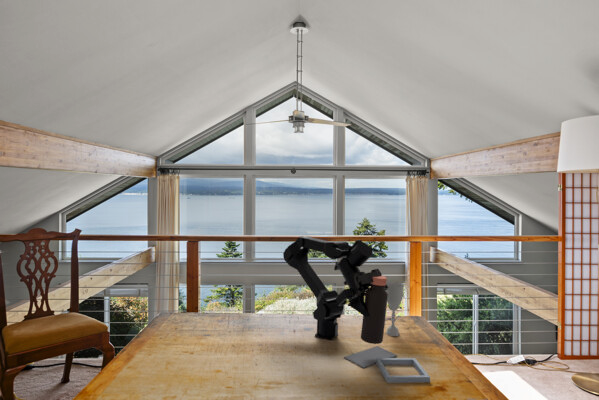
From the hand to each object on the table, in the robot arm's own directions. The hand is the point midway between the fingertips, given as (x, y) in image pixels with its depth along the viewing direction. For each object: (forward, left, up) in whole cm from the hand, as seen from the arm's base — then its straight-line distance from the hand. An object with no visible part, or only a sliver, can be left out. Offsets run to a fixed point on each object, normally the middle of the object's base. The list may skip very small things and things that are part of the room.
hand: (375, 317), depth 130 cm
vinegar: (-1, +1, -8) cm, 8 cm away
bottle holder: (+10, -5, -13) cm, 17 cm away
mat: (-1, +1, -13) cm, 13 cm away
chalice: (0, +24, -13) cm, 27 cm away
